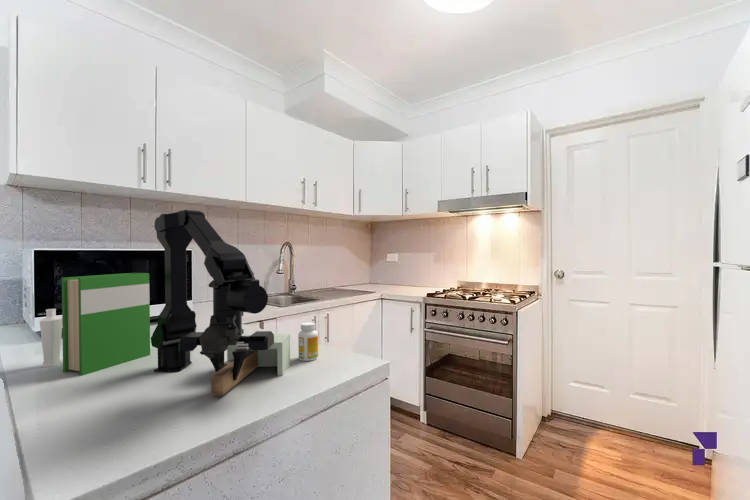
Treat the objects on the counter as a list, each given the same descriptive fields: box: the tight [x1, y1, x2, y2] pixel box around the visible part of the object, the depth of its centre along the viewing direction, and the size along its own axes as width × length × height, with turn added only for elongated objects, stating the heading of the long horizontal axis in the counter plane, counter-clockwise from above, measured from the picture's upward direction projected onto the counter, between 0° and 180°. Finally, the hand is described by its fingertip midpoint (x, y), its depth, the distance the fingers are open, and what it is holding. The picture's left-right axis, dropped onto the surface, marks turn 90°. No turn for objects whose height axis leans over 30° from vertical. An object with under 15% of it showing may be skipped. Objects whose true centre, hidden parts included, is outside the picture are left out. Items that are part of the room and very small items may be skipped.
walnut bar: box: [210, 351, 258, 396], centre depth 80 cm, size 2×18×4 cm, turn 177°
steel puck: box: [224, 359, 234, 367], centre depth 87 cm, size 5×5×2 cm
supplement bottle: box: [297, 321, 319, 362], centre depth 97 cm, size 5×5×10 cm
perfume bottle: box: [39, 308, 63, 368], centre depth 93 cm, size 5×4×15 cm
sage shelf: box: [226, 333, 291, 377], centre depth 88 cm, size 16×8×8 cm, turn 91°
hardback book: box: [61, 272, 151, 376], centre depth 95 cm, size 18×7×24 cm, turn 160°
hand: (228, 380), depth 76 cm, fingers closed on walnut bar, 3 cm apart
